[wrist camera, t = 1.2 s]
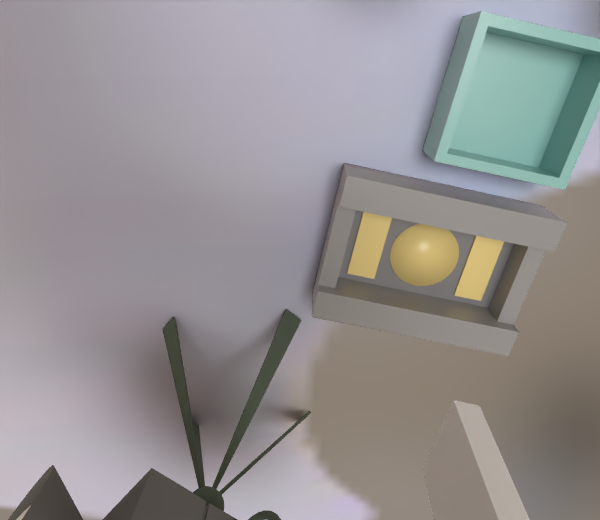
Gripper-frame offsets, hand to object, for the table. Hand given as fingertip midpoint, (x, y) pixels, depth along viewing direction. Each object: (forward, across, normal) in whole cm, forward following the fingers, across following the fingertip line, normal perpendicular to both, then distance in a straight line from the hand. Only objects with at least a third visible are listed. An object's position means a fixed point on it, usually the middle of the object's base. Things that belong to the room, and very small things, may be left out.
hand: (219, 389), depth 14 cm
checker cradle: (+22, +11, -2) cm, 25 cm away
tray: (+22, +13, +9) cm, 27 cm away
